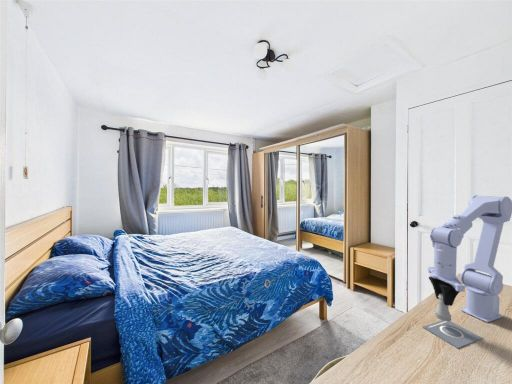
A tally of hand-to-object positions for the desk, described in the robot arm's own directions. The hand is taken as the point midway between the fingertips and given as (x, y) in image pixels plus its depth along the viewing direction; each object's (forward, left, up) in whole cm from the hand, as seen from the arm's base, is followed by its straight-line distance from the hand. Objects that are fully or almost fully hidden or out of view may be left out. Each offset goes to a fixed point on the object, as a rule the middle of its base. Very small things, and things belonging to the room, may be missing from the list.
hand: (444, 301), depth 74 cm
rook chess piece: (0, 0, -6) cm, 6 cm away
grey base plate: (+2, +3, -8) cm, 9 cm away
